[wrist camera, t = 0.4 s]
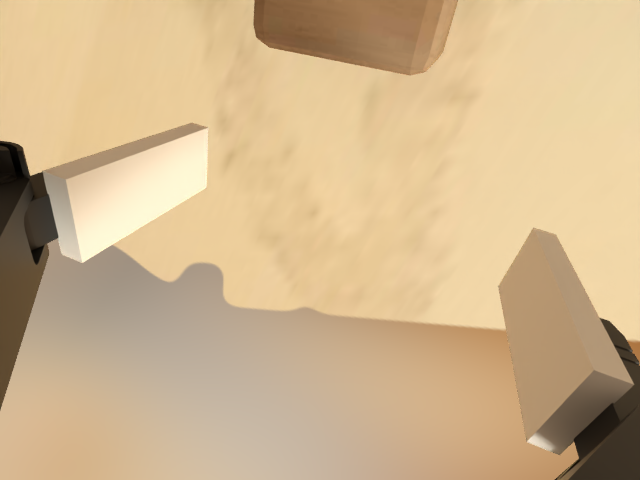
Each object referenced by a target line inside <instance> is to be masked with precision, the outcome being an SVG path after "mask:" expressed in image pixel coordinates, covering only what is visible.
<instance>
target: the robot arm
mask: <svg viewBox="0 0 640 480" xmlns="http://www.w3.org/2000/svg"><path fill="white" fill-rule="evenodd" d="M207 151H208V127H204V126H201V125H198V124H195V123H190V124H187V125H183V126H180V127H177V128H174V129H171V130H168V131H165V132H162V133H159V134H156V135H152V136H149V137H146V138H143V139H140V140H137V141H134V142H131V143H128V144H125V145H122V146H118V147H115V148H112V149H109V150H106V151H103V152H100V153H97V154H94V155H91V156H87V157H84V158H81V159H78V160H75V161H72V162H69V163H66V164H63V165H60V166H56V167H53V168H50V169H47V170H44V171H42V172H41V173H38V174H35V175H32V176H30V174H29V170H28V166H27V162H26V158H25V155H24V151H23V147H21V146H20V145H18V144H15V143H12V142H5V141H0V409H1V406H2V403H3V400H4V396H5V393H6V390H7V387H8V384H9V381H10V377H11V374H12V371H13V368H14V365H15V361H16V358H17V355H18V352H19V349H20V346H21V342H22V339H23V336H24V332H25V330H26V326H27V323H28V320H29V317H30V313H31V310H32V307H33V304H34V301H35V298H36V294H37V291H38V288H39V285H40V282H41V279H42V275H43V272H44V269H45V266H46V262H47V259H48V256H49V249H48V245H47V243H49V242H51V241H53V240H55V239H57V238H58V241H59V245H60V250H61V254H62V255H64V256H67V257H69V258H72V259H74V260H77V261H79V262H82V263H83V262H84V261H86V260H88V259H89V258H91V257H93V256H94V255H96V254H97V253H99V252H101V251H102V250H104V249H106V248H107V247H109V246H111V245H112V244H114V243H116V242H117V241H119V240H121V239H122V238H124V237H126V236H127V235H129V234H131V233H132V232H134V231H136V230H137V229H139V228H141V227H142V226H144V225H145V224H147V223H149V222H150V221H152V220H154V219H155V218H157V217H159V216H160V215H162V214H164V213H165V212H167V211H169V210H170V209H172V208H174V207H175V206H177V205H179V204H180V203H182V202H184V201H185V200H187V199H188V198H190V197H192V196H193V195H195V194H197V193H198V192H200V191H202V190H203V189H205V188H206V186H207ZM498 287H499V293H500V298H501V304H502V309H503V315H504V320H505V326H506V331H507V337H508V341H509V348H510V353H511V359H512V364H513V370H514V375H515V381H516V386H517V392H518V397H519V402H520V408H521V414H522V419H523V424H524V430H525V435H526V441H527V442H528V443H531V444H533V445H536V446H538V447H541V448H543V449H546V450H548V451H551V452H553V453H556V454H558V455H560V454H561V453H562V452H563V451H564V450H565V449H566V448H567V447H568V446H570V445H571V444H572V443H573V442H575V445H576V449H577V452H578V456H579V459H578V460H577V461H576V462H574V463H573V464H572V465H571V466H570V467H569V468H568V469H566V470H565V471H564V472H563V473H562V474H561V475H559V477H557V478H556V479H555V480H640V366H639V361H638V360H637V358H636V356H635V354H633V353H632V349H631V347H630V346H629V344H628V342H627V340H626V338H625V337H624V336H623V335H622V334H621V333H620V332H619V331H618V330H617V328H616V327H615V326H614V325H613V324H612V323H611V322H610V321H607V320H604V319H601V318H599V316H598V314H597V312H596V310H595V308H594V307H593V305H592V303H591V301H590V299H589V297H588V295H587V293H586V291H585V289H584V287H583V286H582V284H581V282H580V280H579V278H578V276H577V274H576V272H575V270H574V268H573V266H572V265H571V263H570V261H569V259H568V257H567V255H566V253H565V251H564V249H563V247H562V245H561V244H560V242H559V240H558V238H557V236H556V235H555V234H552V233H549V232H545V231H542V230H539V229H536V228H533V229H532V231H531V233H530V235H529V236H528V238H527V240H526V241H525V243H524V245H523V246H522V248H521V250H520V251H519V253H518V255H517V256H516V258H515V260H514V261H513V263H512V265H511V266H510V268H509V270H508V271H507V273H506V275H505V276H504V278H503V280H502V281H501V283H500V285H499V286H498Z"/></svg>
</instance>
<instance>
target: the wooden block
mask: <svg viewBox="0 0 640 480" xmlns="http://www.w3.org/2000/svg"><path fill="white" fill-rule="evenodd" d="M457 2H458V0H255V6H254V29H255V33H256V37H257V38H258V39H259V40H260V41H262V42H263V43H264V44H266V45H267V46H268V47H270V48H275V49H280V50H285V51H290V52H295V53H300V54H305V55H310V56H315V57H320V58H325V59H330V60H335V61H340V62H345V63H350V64H355V65H360V66H365V67H370V68H375V69H380V70H385V71H390V72H395V73H400V74H406V75H414V74H418V73H423V72H426V71H427V70H428V69H429V68H430V66H431V65H432V64H433V63H434V62H435V61H436V60H437V59H438V58H439V56H440V55H441V54H442V52H443V50H444V47H445V43H446V40H447V36H448V33H449V30H450V26H451V23H452V19H453V16H454V12H455V9H456V6H457Z"/></svg>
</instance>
